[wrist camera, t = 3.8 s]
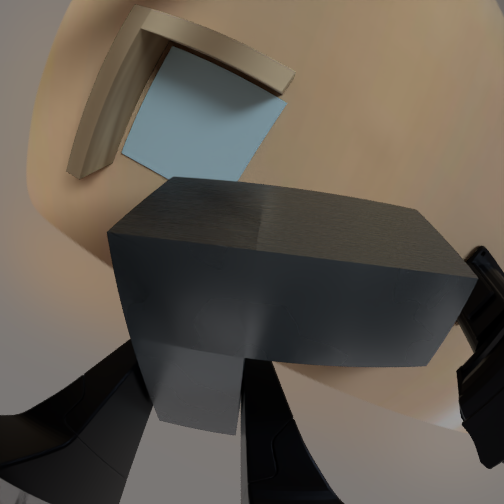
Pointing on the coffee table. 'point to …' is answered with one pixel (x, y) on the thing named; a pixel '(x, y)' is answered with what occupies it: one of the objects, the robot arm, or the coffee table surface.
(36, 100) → the coffee table surface
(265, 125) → the pad
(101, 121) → the corner walls
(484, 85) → the coffee table surface
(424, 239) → the bracket
